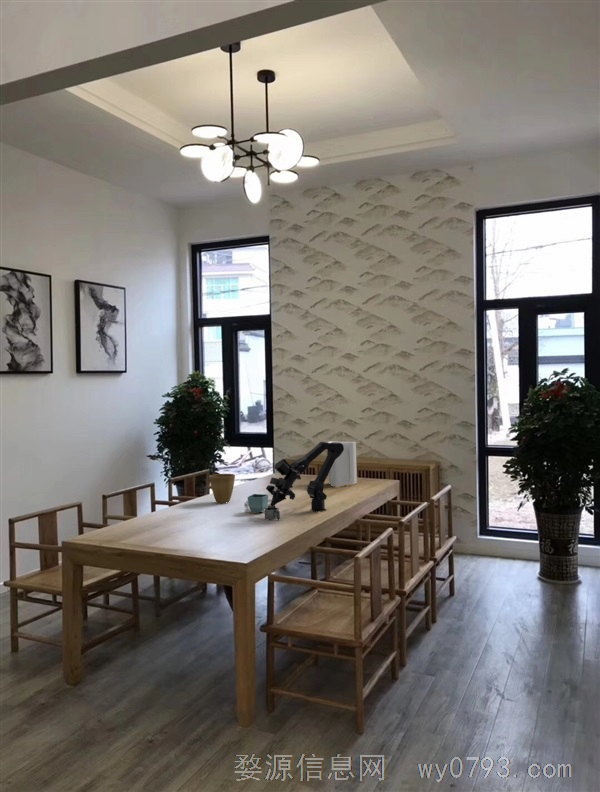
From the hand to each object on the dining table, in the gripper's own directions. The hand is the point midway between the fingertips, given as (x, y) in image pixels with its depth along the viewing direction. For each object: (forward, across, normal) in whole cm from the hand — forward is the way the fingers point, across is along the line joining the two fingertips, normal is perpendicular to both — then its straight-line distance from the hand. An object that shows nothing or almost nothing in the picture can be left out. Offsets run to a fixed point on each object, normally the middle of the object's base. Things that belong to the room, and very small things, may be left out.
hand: (271, 505), depth 323 cm
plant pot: (+1, -56, +8) cm, 57 cm away
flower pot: (+2, -18, +8) cm, 20 cm away
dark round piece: (+4, 0, +4) cm, 6 cm away
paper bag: (-58, -49, +68) cm, 102 cm away
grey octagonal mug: (+5, +1, +5) cm, 7 cm away
